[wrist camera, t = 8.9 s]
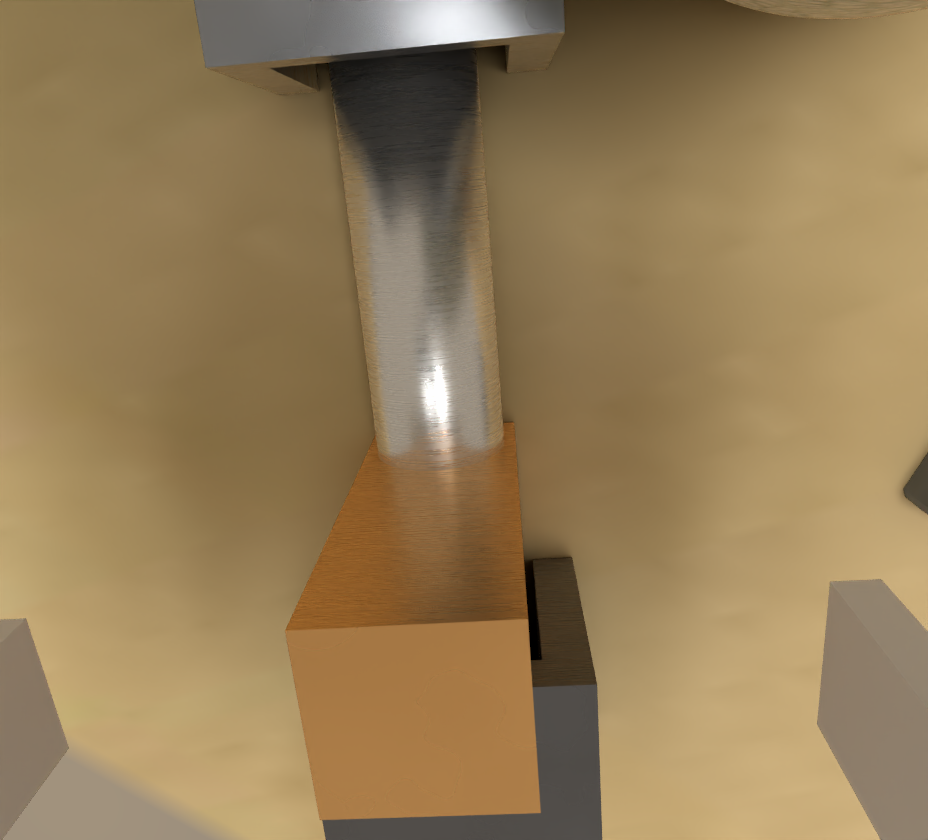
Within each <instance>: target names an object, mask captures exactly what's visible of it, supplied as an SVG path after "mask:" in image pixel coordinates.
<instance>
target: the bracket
mask: <svg viewBox="0 0 928 840" xmlns="http://www.w3.org/2000/svg"><path fill="white" fill-rule="evenodd" d="M904 493H905V497H906V498H908V499H909V500H910V501H911V502H912V503H913V504H915V505H916V506H917V507H919V508H920V509H921V510H923V511H924V512H925V513H927V514H928V453H927V455H926V456H925V458H924V459H923V461H922V462H921V464H920V465H919V466H918V468H917V469H916V471H915V472H914V474H913V475H912V477H911V478H910V480H909V481H908V483H907V484H906V486H905V487H904Z"/></svg>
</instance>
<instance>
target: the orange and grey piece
mask: <svg viewBox="0 0 928 840" xmlns="http://www.w3.org/2000/svg"><path fill="white" fill-rule="evenodd" d="M328 65H329V73H330V80H331V88H332V96H333V104H334V112H335V120H336V127H337V135H338V143H339V151H340V159H341V166H342V174H343V182H344V190H345V198H346V206H347V213H348V221H349V229H350V237H351V245H352V253H353V260H354V268H355V276H356V284H357V292H358V299H359V307H360V315H361V323H362V331H363V339H364V346H365V354H366V362H367V370H368V378H369V385H370V393H371V401H372V409H373V417H374V425H375V432H376V435H375V437H374V439H373V442H372V444H371V446H370V448H369V450H368V452H367V455H366V457H365V459H364V461H363V463H362V465H361V468H360V470H359V472H358V474H357V476H356V478H355V481H354V483H353V485H352V487H351V489H350V491H349V494H348V496H347V498H346V500H345V502H344V504H343V507H342V509H341V511H340V513H339V515H338V517H337V520H336V522H335V524H334V526H333V528H332V530H331V533H330V535H329V537H328V539H327V541H326V543H325V546H324V548H323V550H322V552H321V554H320V556H319V559H318V561H317V563H316V565H315V567H314V569H313V572H312V574H311V576H310V578H309V580H308V582H307V585H306V587H305V589H304V591H303V593H302V595H301V598H300V600H299V602H298V604H297V606H296V608H295V611H294V613H293V615H292V617H291V619H290V621H289V623H288V626H287V628H286V630H285V633H286V638H287V644H288V649H289V655H290V660H291V666H292V671H293V676H294V682H295V687H296V693H297V698H298V704H299V709H300V715H301V720H302V725H303V731H304V736H305V742H306V747H307V753H308V758H309V763H310V769H311V774H312V780H313V785H314V791H315V796H316V801H317V807H318V812H319V818H320V820H339V819H370V818H402V817H433V816H465V815H496V814H528V813H541V809H540V794H539V779H538V764H537V748H536V733H535V718H534V703H533V688H532V672H531V657H530V642H529V627H528V612H527V598H526V584H525V570H524V556H523V542H522V528H521V513H520V499H519V485H518V471H517V457H516V443H515V429H514V422H512V423H503V418H502V404H501V390H500V376H499V362H498V348H497V334H496V320H495V306H494V292H493V278H492V264H491V250H490V236H489V222H488V208H487V193H486V179H485V165H484V151H483V137H482V123H481V109H480V95H479V81H478V67H477V53H476V48H469V49H458V50H448V51H438V52H428V53H418V54H408V55H398V56H388V57H378V58H368V59H358V60H348V61H338V62H328Z"/></svg>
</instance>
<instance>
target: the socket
mask: <svg viewBox="0 0 928 840" xmlns="http://www.w3.org/2000/svg"><path fill="white" fill-rule="evenodd" d="M533 569H534V586H535V602H536V618H537V634H538V650H539V660H532V661H531V672H532V688H533V703H534V718H535V733H536V748H537V764H538V779H539V794H540V809H541V813H528V814H496V815H465V816H433V817H402V818H370V819H339V820H322V821H323V826H324V832H325V837H326V840H602V820H601V790H600V760H599V731H598V701H597V682H596V677H595V672H594V667H593V662H592V657H591V652H590V647H589V642H588V636H587V631H586V626H585V621H584V616H583V611H582V606H581V601H580V596H579V591H578V586H577V581H576V575H575V570H574V565H573V560H572V558H553V559H535V560H533Z"/></svg>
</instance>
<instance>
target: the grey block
mask: <svg viewBox="0 0 928 840" xmlns="http://www.w3.org/2000/svg"><path fill="white" fill-rule="evenodd" d="M194 4H195V9H196V15H197V21H198V26H199V32H200V38H201V44H202V49H203V55H204V61H205V66H206V68H208V69H210V70H213V71H216V72H219V73H221V74H224V75H227V76H230V77H232V78H235V79H238V80H241V81H243V82H246V83H249V84H252V85H254V86H257V87H260V88H263V89H265V90H268V91H271V92H274V93H276V94H279V95H287V94H297V93H308V92H318V91H319V86H318V79H317V71H316V64H318V63H328V62H338V61H348V60H358V59H368V58H378V57H388V56H398V55H408V54H418V53H428V52H438V51H448V50H458V49H469V48H479V47H489V46H499V45H505V50H506V67H507V73H514V72H524V71H535V70H545V69H547V68H548V66H549V64H550V62H551V60H552V58H553V55H554V53H555V51H556V49H557V47H558V45H559V43H560V41H561V39H562V37H563V35H564V33H565V21H564V0H194Z"/></svg>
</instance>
